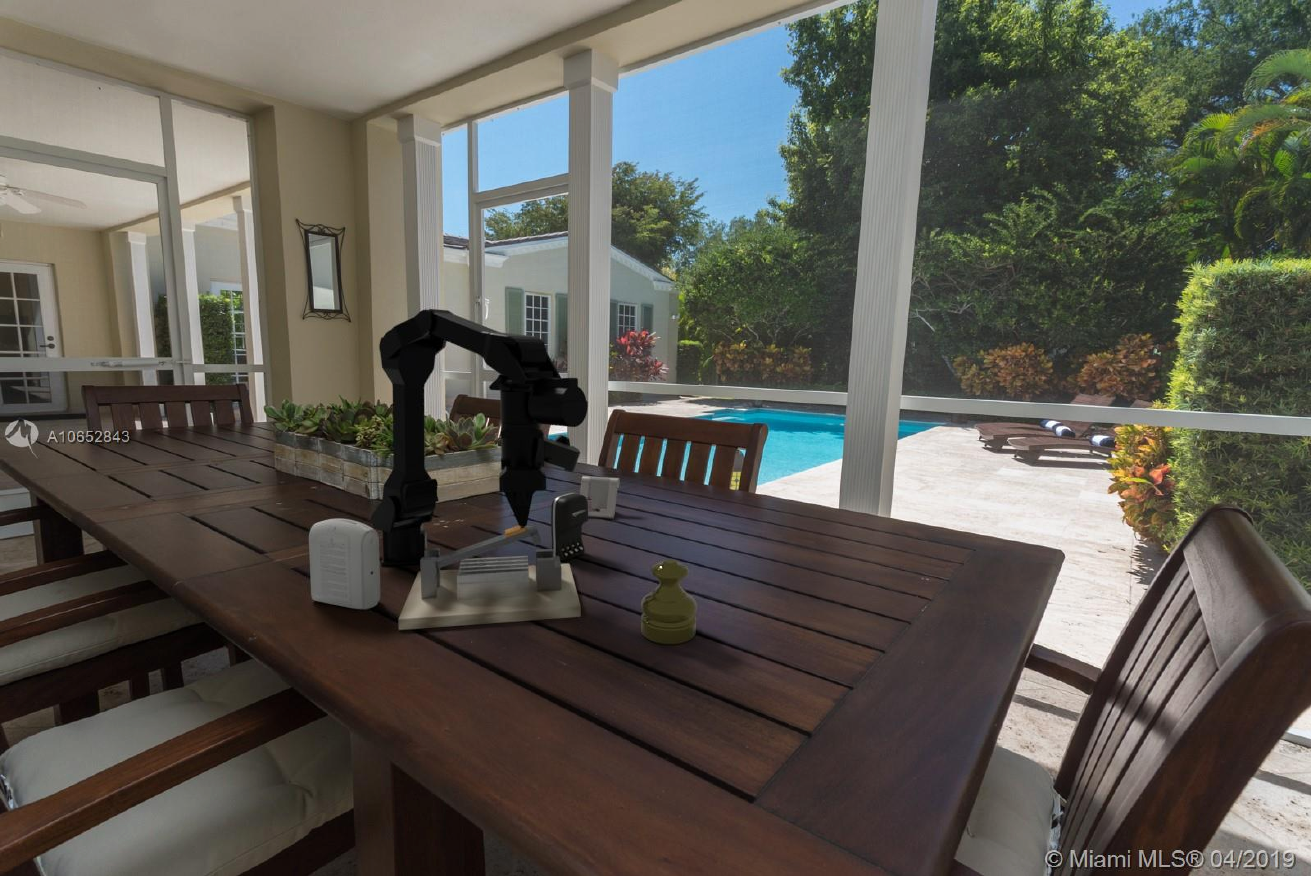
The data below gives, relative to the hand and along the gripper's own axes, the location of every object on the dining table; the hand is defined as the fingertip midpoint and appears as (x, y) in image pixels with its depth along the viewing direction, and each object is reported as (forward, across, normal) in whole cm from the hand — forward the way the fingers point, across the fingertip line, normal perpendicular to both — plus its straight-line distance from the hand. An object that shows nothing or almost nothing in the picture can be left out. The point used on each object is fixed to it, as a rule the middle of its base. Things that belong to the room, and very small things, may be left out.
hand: (522, 525), depth 92 cm
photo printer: (+11, +2, +25) cm, 28 cm away
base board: (+11, 0, +4) cm, 12 cm away
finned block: (+9, 0, +4) cm, 10 cm away
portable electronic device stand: (+12, +46, -18) cm, 51 cm away
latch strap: (+5, 0, +5) cm, 7 cm away
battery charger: (+11, +17, -9) cm, 22 cm away
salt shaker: (+12, -16, -19) cm, 27 cm away
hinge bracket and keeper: (+9, 0, +4) cm, 10 cm away
